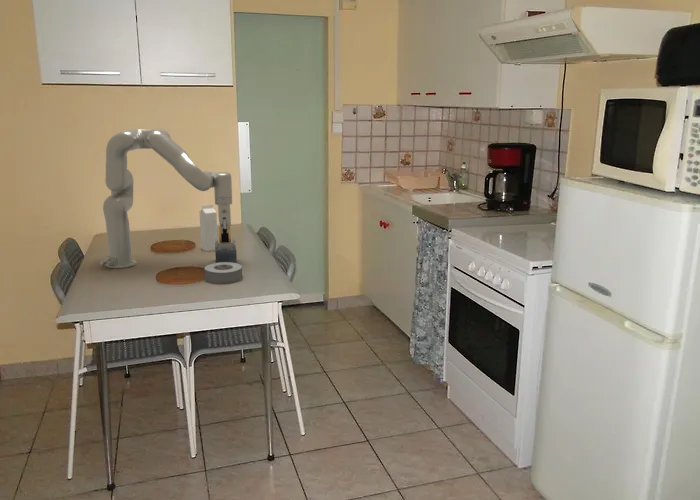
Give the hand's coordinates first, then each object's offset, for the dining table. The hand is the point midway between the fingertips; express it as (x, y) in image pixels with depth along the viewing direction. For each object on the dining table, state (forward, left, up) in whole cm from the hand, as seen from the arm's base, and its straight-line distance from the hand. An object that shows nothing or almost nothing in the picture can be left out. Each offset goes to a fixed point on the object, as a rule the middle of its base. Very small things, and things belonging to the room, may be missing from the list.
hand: (224, 240), depth 269 cm
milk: (+16, +24, -11) cm, 31 cm away
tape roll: (-18, -14, -11) cm, 25 cm away
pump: (0, 0, -1) cm, 1 cm away
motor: (+1, +1, -11) cm, 11 cm away
